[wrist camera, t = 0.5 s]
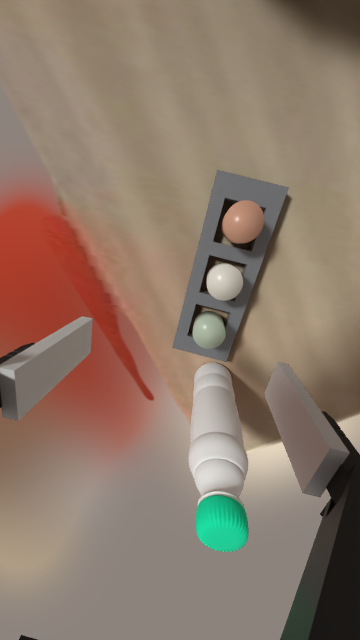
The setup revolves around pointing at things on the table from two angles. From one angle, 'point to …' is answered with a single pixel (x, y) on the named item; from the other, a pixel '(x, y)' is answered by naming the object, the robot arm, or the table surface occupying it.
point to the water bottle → (218, 460)
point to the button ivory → (224, 281)
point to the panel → (228, 258)
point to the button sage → (208, 330)
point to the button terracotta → (243, 222)
